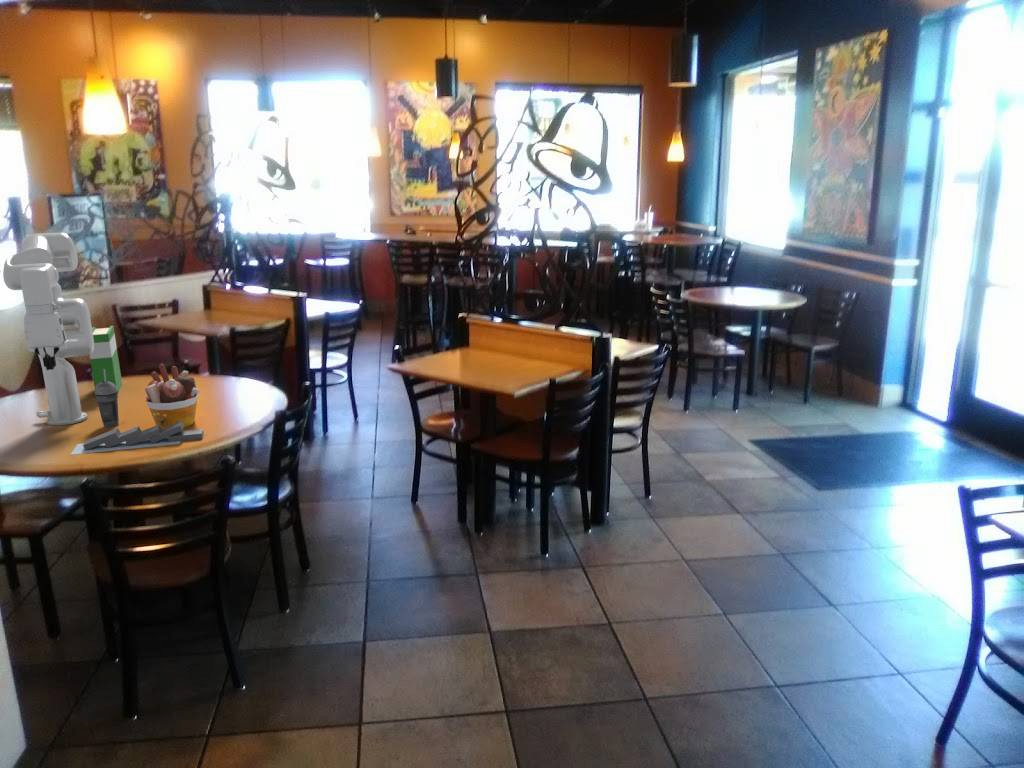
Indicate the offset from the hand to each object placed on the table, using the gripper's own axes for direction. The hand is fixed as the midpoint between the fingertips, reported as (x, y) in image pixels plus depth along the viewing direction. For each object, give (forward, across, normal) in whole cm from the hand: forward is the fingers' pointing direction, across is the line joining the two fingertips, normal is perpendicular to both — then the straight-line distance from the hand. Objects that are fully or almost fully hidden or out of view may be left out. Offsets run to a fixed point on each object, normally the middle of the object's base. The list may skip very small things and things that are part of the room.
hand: (50, 368), depth 248 cm
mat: (+25, -19, +5) cm, 32 cm away
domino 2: (+24, -13, +5) cm, 28 cm away
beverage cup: (+26, -10, -19) cm, 34 cm away
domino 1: (+24, -7, +5) cm, 25 cm away
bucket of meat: (+26, -31, -12) cm, 42 cm away
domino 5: (+24, -31, +5) cm, 40 cm away
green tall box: (+28, -1, -69) cm, 75 cm away
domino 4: (+24, -26, +5) cm, 36 cm away
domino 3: (+24, -19, +5) cm, 31 cm away
